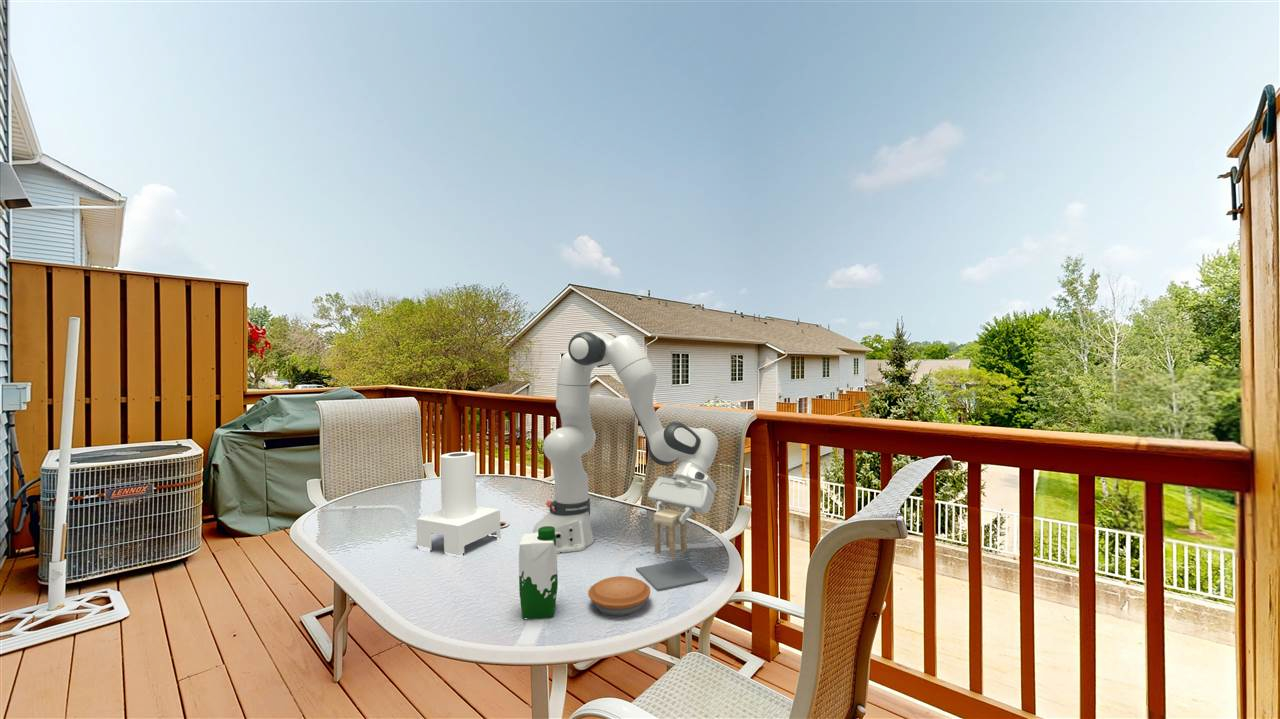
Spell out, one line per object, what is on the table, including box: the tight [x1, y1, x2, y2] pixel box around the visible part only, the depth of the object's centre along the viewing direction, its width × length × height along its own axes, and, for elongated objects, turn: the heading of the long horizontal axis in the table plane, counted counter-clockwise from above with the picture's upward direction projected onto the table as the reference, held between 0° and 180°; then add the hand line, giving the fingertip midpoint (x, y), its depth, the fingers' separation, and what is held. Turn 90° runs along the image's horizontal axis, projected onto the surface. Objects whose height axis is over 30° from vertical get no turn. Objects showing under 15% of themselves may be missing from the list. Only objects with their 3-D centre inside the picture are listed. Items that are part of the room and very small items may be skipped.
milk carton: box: [518, 526, 559, 619], centre depth 124 cm, size 9×9×20 cm
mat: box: [635, 559, 709, 592], centre depth 144 cm, size 15×15×1 cm
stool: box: [653, 508, 688, 559], centre depth 144 cm, size 6×6×11 cm
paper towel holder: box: [416, 451, 502, 555], centre depth 172 cm, size 19×19×30 cm
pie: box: [587, 575, 651, 617], centre depth 127 cm, size 15×16×5 cm
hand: (668, 519), depth 143 cm, fingers closed on stool, 6 cm apart
